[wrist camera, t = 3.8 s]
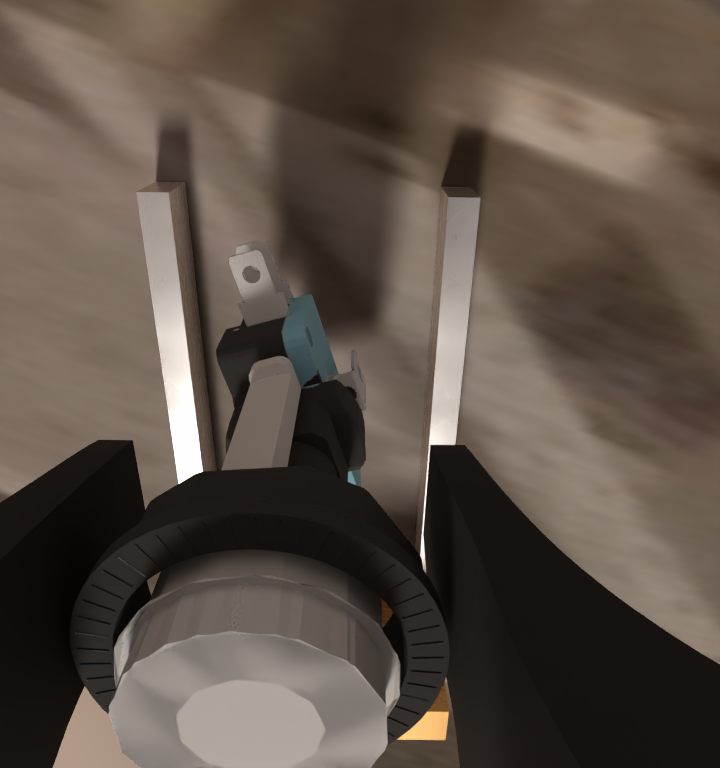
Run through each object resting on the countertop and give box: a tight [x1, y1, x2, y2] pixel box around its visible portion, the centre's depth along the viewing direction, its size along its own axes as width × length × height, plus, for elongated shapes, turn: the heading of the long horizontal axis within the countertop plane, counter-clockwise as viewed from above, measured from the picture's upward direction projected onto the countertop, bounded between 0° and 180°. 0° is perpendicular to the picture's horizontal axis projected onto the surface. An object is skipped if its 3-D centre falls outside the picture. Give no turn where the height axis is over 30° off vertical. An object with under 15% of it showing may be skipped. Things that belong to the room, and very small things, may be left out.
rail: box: [137, 182, 480, 740], centre depth 18 cm, size 9×16×5 cm, turn 179°
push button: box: [70, 239, 449, 768], centre depth 12 cm, size 7×5×10 cm
